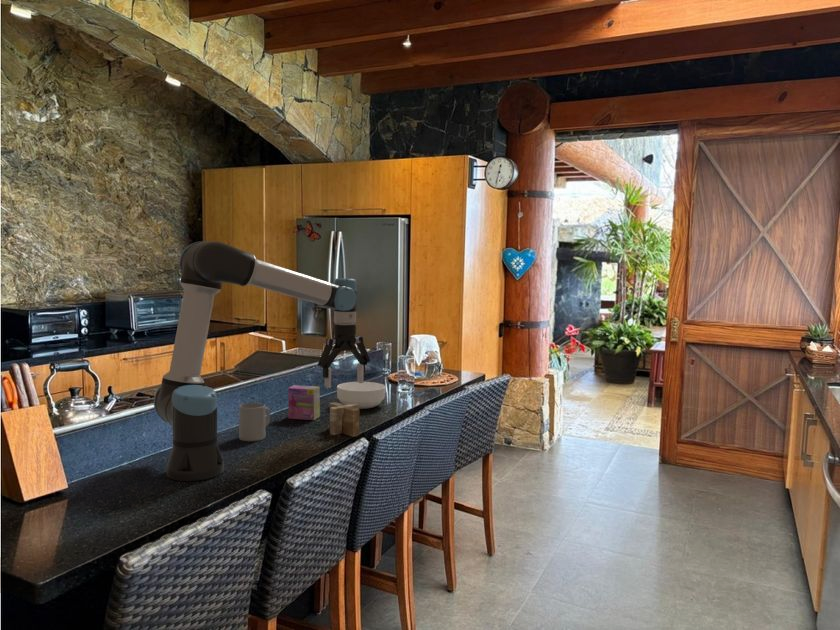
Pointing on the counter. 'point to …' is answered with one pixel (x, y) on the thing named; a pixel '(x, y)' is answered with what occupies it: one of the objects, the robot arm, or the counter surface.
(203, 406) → the robot arm
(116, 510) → the counter surface
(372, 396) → the bowl
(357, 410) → the notched wooden block
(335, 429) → the notched wooden horseshoe piece
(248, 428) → the mug
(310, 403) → the box
